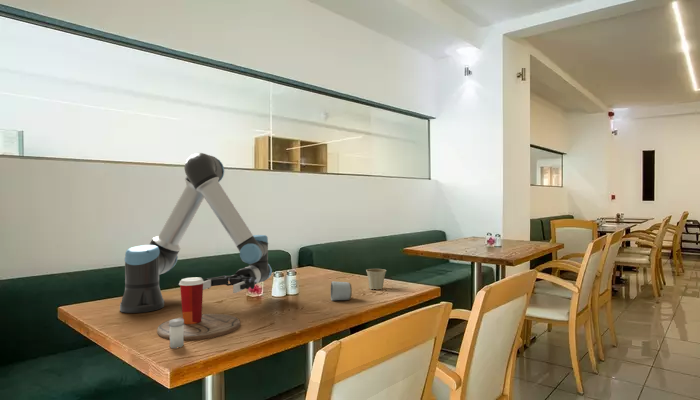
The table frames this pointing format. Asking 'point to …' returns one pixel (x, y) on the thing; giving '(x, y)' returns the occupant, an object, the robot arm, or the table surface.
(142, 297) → the robot arm
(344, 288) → the ceramic mug
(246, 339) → the table surface
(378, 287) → the flower pot
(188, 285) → the paper cup
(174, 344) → the salt shaker
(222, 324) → the trivet
